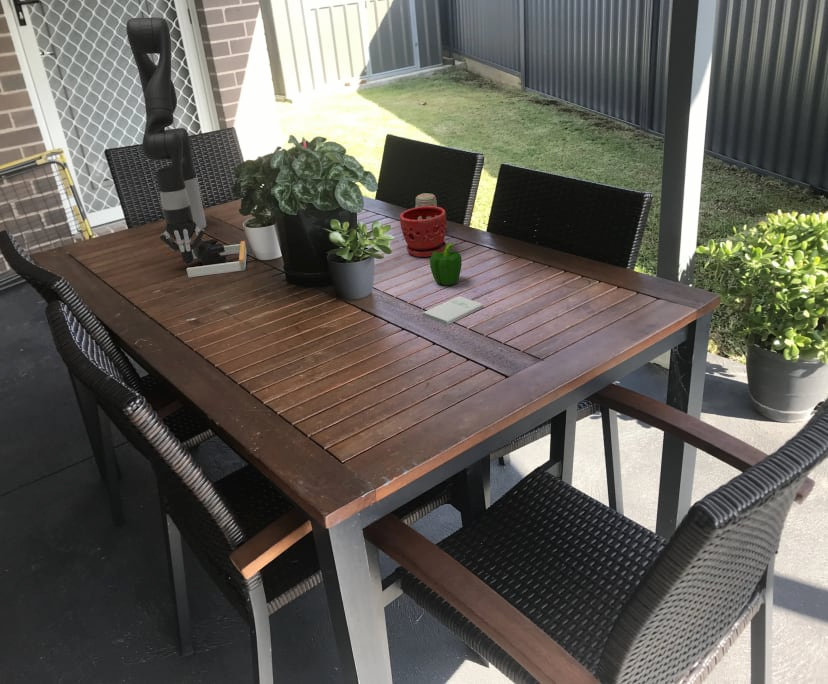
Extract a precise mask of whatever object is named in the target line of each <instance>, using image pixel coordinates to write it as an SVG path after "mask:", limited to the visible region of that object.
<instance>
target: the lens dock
mask: <svg viewBox="0 0 828 684" xmlns="http://www.w3.org/2000/svg"><path fill="white" fill-rule="evenodd" d="M223 246H224V250H225V252H222V253H219V254H220V255H221V256H228V255H235V254H239V256H238V261H232V262H226V263H222V264H214V265H207V266H205V265H201V266H194V267H193V266H192V267H187V268H186V273H187V277H188V278H194V277H196V278H197V277H202V276H210V275H211V276H212V275H218V274H224V273H225V274H226V273H232V272H240V271H246V266H247V253H248V252H247V245H246V241H245V240H242V241H240V243H237V244H230V245H223ZM192 254H193V260H196V259H198V258H197V257H196V256H195V255H194V253H193V249H192Z"/></svg>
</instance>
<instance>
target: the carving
mask: <svg viewBox="0 0 828 684" xmlns="http://www.w3.org/2000/svg"><path fill="white" fill-rule="evenodd" d="M423 206H434V207H438V203H437V198H436V195H435V194H433V193H425V192H424V193H421V194H418V195H417V196H416V197H415V207H414V208H417V207H423ZM436 216H437V215H435V217H436ZM429 218H432V217H430V216H427V217H426V219H429ZM418 220H422V217H421V216H419V217H418Z"/></svg>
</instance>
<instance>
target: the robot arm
mask: <svg viewBox="0 0 828 684" xmlns="http://www.w3.org/2000/svg"><path fill="white" fill-rule="evenodd" d="M126 35H127V39H128V44H129V46H130V50H131V52H132V56H133V59H134V61H135V64H136V67H137V72H138V75H139V79H140V85H141V89H142V93H143V98H144V105H145V106H144V107H145V115H146V116H145V119H146V120H145V121H146V122H145V128H144V134H143V138H142V145H141V146H142V151H143V152H142V153H143V154H144V156H145V157H146V158H147V159H148V160H150V161H163V160H171V164H170V165H168V166H164V167H162V168H159V169H158V170H157V171H156V173H155V175H156V176H155V177H156V180H157V181H156V182H157V185H158V190H159V195H160V202H161V204H160V205H161V208H162V210H163V215H164V219H165V231H164V232H162V233H161V234H160V237H159V238H160V240H161V241H163V242H164V243H165V244H166V245H167V246H168V247H170V248H171V249H172V250H173V251H175V252H176V251H179V252H180V253H181V257H182V261H183V263H185V264H187V265H189V264H192V262H193V261H194V259H193V254H192V250H193V249H194V248H196V247H197V245H198V243H199V241H200V240H202V238H203V236H204V234H205V231H206V230H205V228H206V227H208V226H207V220H206V215H205V210H204V205H203V201H202V195H201V191H200V187H199V182H198V177H197V171H196V168H195V163H194V159H193V152H192V144H191V138H190V135H189V133H188V131H187V129H186V128H185V127H178V128H170V129H169V128H168V129H166V128H167V127H170V126H172V125H173V124H174V113H175V111H176V109H177V105H178V97H177V92H176V88H175V84H174V82H173V80H172V39H171V38H172V37H171V33H170V28H169V24H168V22H167V20H166V19H165V18H163V17H132V18H129V19H127V22H126ZM150 54H151V55H152V54H155V55H156V54H158V55H159V57H158V63H157V65H156V64H155V63H154V61H153V60H152V59H151V58H150V56H149V55H150ZM194 233H195V235H196V236H195V239H194V240H193V242H191V241H192V240H191V239H192V237H193V234H194ZM170 236H171V237H172V238H173V239H174V240H176V242H175V241H174V240H173V239H172V238H170Z"/></svg>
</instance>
